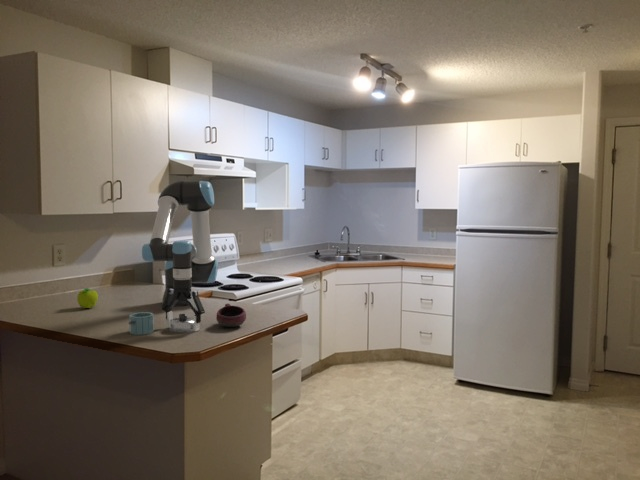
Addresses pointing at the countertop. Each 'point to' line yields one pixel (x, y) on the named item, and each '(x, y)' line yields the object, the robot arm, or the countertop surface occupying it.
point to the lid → (182, 324)
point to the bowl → (231, 316)
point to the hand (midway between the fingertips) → (183, 328)
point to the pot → (141, 323)
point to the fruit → (87, 298)
